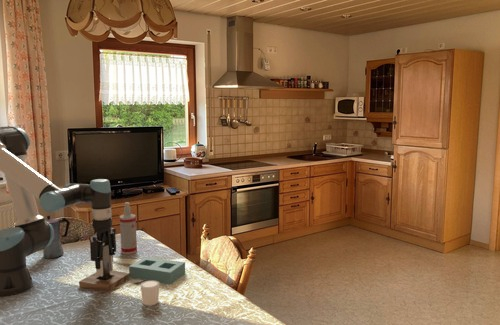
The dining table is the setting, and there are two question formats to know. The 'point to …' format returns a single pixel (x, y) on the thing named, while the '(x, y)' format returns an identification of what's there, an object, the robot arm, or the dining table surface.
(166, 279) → the block
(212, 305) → the dining table surface
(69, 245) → the dining table surface
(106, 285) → the socket block
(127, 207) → the white plastic bottle
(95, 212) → the robot arm
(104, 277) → the steel pin
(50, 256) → the moka pot
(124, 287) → the dining table surface
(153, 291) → the shot glass
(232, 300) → the dining table surface
